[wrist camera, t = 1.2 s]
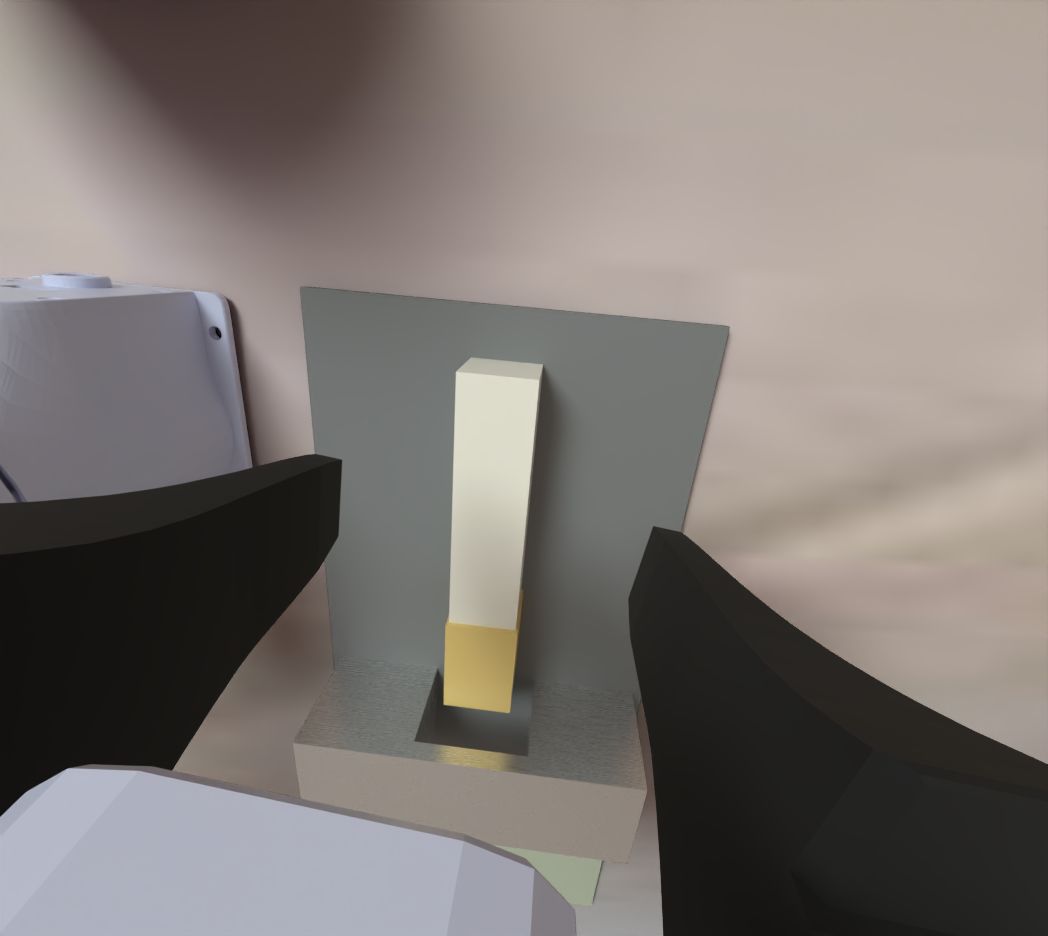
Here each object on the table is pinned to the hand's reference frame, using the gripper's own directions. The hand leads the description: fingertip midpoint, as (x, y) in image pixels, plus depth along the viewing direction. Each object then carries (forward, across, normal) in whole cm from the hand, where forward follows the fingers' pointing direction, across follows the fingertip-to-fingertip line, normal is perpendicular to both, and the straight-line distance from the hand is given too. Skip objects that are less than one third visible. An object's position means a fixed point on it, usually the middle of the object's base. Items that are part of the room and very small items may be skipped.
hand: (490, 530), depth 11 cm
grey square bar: (+9, -1, +16) cm, 19 cm away
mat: (+10, -1, +14) cm, 17 cm away
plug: (+9, 0, +6) cm, 11 cm away
